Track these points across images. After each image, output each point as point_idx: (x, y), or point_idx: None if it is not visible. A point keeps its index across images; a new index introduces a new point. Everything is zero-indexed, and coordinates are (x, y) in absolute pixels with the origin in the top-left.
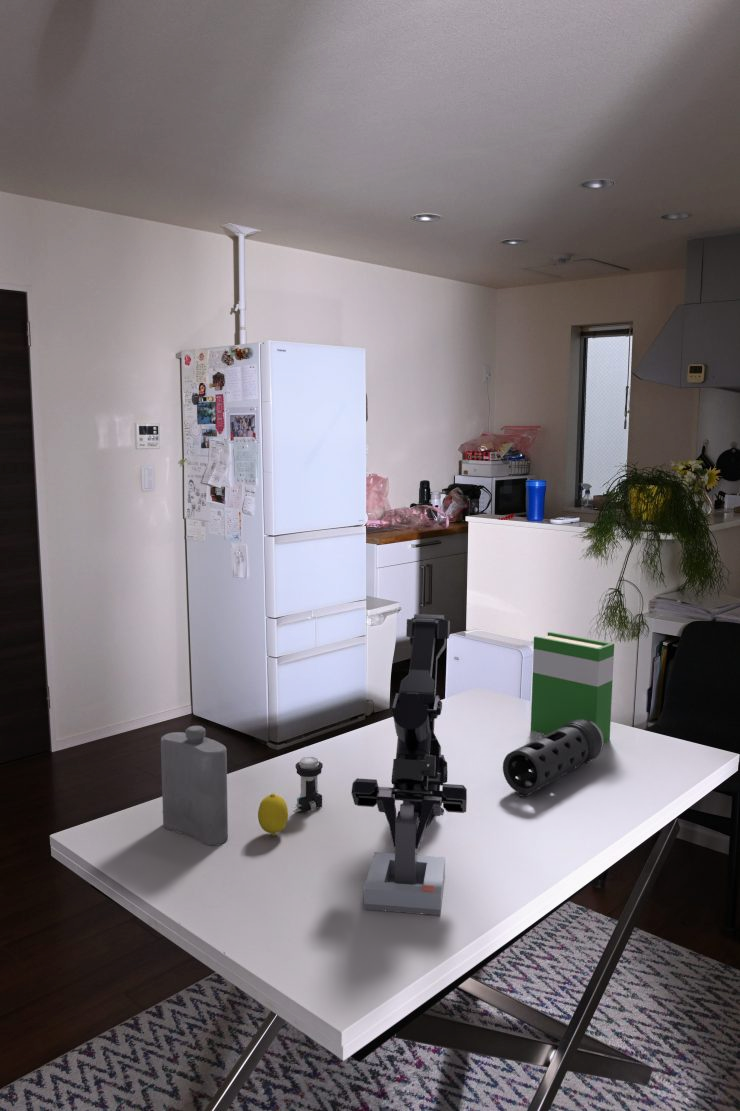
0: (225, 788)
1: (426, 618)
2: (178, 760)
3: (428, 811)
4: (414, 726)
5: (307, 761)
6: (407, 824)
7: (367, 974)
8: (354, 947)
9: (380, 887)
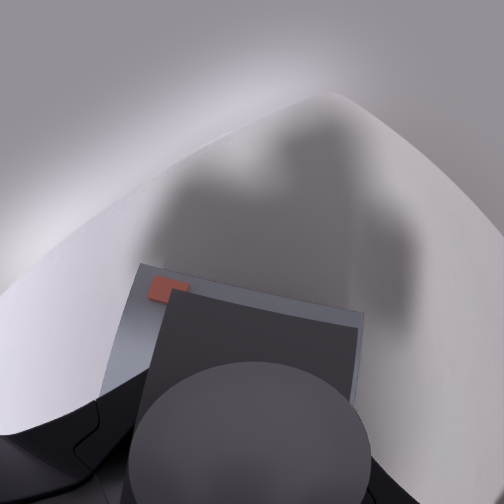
0: None
1: None
2: None
3: (12, 445)
4: None
5: None
6: (247, 310)
7: (317, 143)
8: (346, 201)
9: (318, 317)
